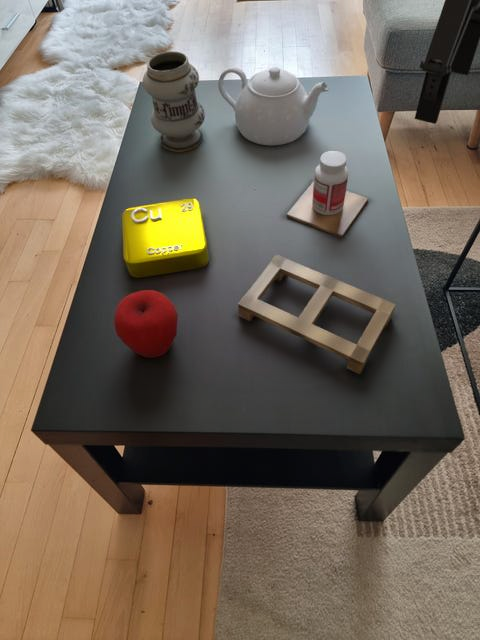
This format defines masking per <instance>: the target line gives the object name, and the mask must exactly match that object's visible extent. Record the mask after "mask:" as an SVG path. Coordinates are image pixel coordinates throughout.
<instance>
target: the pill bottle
mask: <svg viewBox="0 0 480 640" xmlns="http://www.w3.org/2000/svg"><path fill="white" fill-rule="evenodd" d="M346 165H347V155H345V153H343V152H341V151H338V150H329V151H325V152H323V153H322V154H321V155H320V158H319V164H318V165H317V166H316V168H315V170H314V178H313V181H314V188H313V201H312V205H313V208H314V210H315V211H316V212H318V213H320V214H323V215H334V214H337V213H339V212H340V211H341V210H342V209H343V206H344V201H345V194H346V191H347V186H348V180H349V168H348V167H347V166H346Z"/></svg>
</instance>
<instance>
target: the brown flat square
mask: <svg viewBox="0 0 480 640" xmlns="http://www.w3.org/2000/svg"><path fill="white" fill-rule="evenodd" d="M313 188H314V180H313V181H312V182H311V184H310V185H309V186H308V187H307V188H306V190H305V191H304V192H303V193H302V195H301V196H300V197H299V198H298V199H297V201H295V203H294V205H293V206H292V207H291V208H290V209H289V210H288V212H287V213H286V217H287V218H289V219H291V220H295V221H297V222H300V223H303V224H305V225H308V226H310V227H314V228H316V229H319V230H321V231H323V232H327V233H329V234H332V235H334V236H337V237H339V238H343V236H345V234H346V233H347V231H349V229H350V227H351V226H352V224H353V222H354V221H355V220H356V218H357V217H358V215H360V213H361V211H362V210H363V208H364V207H365V206H366V204H367V202H368V201H369V197H366V196H363V195H361V194H357V193H355V192H351V191H348V190H346V194H345V201H344V206H343V209H342V210H341V211H340V212H339V213H337V214H334V215H323V214H320V213H318V212H316V211H315V210H314V208H313V205H312V201H313Z"/></svg>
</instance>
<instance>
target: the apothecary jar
mask: <svg viewBox="0 0 480 640" xmlns="http://www.w3.org/2000/svg"><path fill="white" fill-rule="evenodd" d="M146 68H147V69H146V71H145V72H144V74H143V77H142V86H143V89H144V90H145V92H146V93H147V94H148V95H149V96H150V97H151V100H152V105H153V110H152V112H151V114H150V122H151V125H152V127H153V128H154V129H155V131H156V132H158V133H159V134H161V136H160V139H161V142H160V144H161V146H162V147H163V148H164V149H165V150H168V151H171V152H174V153H175V152H176V153H181V152H187V151H190V150H192V149H195V148H196V147H198V146H199V145H200V144H201V143H202V142H203V138H204V137H203V133H202V131H201V130H200V129H199V128H201V126H202V125H203V123H204V122H205V117H206V116H205V114H206V113H205V110H204V109H205V108H204V107H203V105H201V104H200V102H199V101H198V100H197V94H196V88H197V86H198V84H199V82H200V76H199V72H198V70H197V69H196V68H195V66H193V65H192V64H191V63H190V62H189V58H188V56H187V55H186V54H185V53H183V52H181V51H172V50H170V51H161V52H159V53H156V54H155V55H152V56H151V57H150V58H149V59H148V61H147V63H146Z"/></svg>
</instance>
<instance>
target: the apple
mask: <svg viewBox="0 0 480 640" xmlns="http://www.w3.org/2000/svg"><path fill="white" fill-rule="evenodd" d="M177 311H178V310H177V308H176V305H174V304H173V302H172V301H171V300H170V299H169V298H168V297H167V296H166V295H165V294H164V293H162V292H159V291H156V290H154V289H147V290H146V289H145V290H139V291H135V292H131V293H130V294H128V295H126V296H125V297H124V298H122V299H121V300H120V301H119V303H118V305H117V306H116V308H115V312H114V315H113V316H114V317H113V325H114V329H115V334H116V336H118V338H119V339H120V340H121V341H122V342H123V343H124V344H125V345H126V346H127V347H128V348H129V349H130V350H132V351H133V352H134V353H136V354H137V355H139V356H140V357H141V356H142V357H145V358H157V357H160V356H163V355H165V354H166V353H167V352H168V351H169V350H170V349H171V347H172V345H173V343H174V341H175V338H176V337H177V330H178V319H179V318H178V317H179V316H178V315H179V314H178V312H177Z"/></svg>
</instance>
